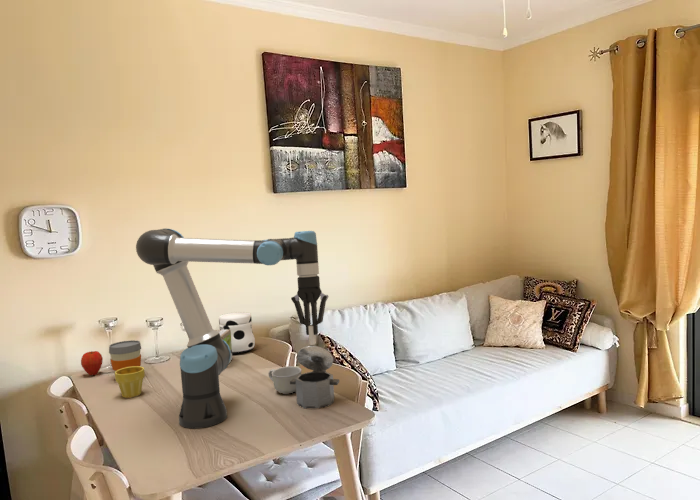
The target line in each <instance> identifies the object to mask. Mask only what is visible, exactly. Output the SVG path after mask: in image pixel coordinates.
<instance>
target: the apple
mask: <svg viewBox="0 0 700 500" xmlns="http://www.w3.org/2000/svg"><path fill="white" fill-rule="evenodd" d="M80 365H81V367H82V368H83V370H84V371H85V373H87V374H88V375H89V376H96V375H97V374H98V373H99V372H100V370H101V368H102V365H103V356H102V354H101V353H100V352H99V351H96V350H95V351H92V350H91V351H87V352H85V353H84V354H83V355H82V356H81V359H80Z"/></svg>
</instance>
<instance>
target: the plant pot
mask: <svg viewBox="0 0 700 500" xmlns="http://www.w3.org/2000/svg"><path fill="white" fill-rule="evenodd" d="M114 377H115V379H114V380H115V382H116V383H117V385H118V388H119V391H120V394H121V396H122V397H123V398H124V399H130V398H136V397H139V396H140V395H141V394H142V388H143V382H144V378H145V377H146V374H145V367H143V366H132V367H126V368H122V369H119V370H117V371H116V372H115V373H114Z"/></svg>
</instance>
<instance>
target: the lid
mask: <svg viewBox="0 0 700 500" xmlns="http://www.w3.org/2000/svg"><path fill="white" fill-rule="evenodd" d="M296 358H297V361H298V363H299V364H300V365H301V366H302V367H304V368H306V369H308V370H310V371H313V370H314V371H324V370H326V371H327V370H328V369H330V368H331V367H332V366H333V365H334V357H333V354H331V352H329V351H328V349H325V348H323V347H321V346H318V345H305V346H304V347H303V346H302V347H301V348H300V349H299V350H298V352H297V357H296Z"/></svg>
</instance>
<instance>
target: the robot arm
mask: <svg viewBox="0 0 700 500" xmlns="http://www.w3.org/2000/svg"><path fill="white" fill-rule="evenodd" d="M135 250H136V255H137V256H138V258H139V259H140V260H141V261H142V262H143V263H145V264H147V265H150V266H151V265H152V266H153V268H154V270H155V273H156V274H158V275H161V276H162V277H163V280H164V282H165V285H166V287H167V289H168V291H169V294H170V297H171V298H172V299H171V300H172V301H173V304H174V306H175V309H176V310H177V314H178V315H179V318H180V320H181V324H182V325H183V327H184V328H183V329H184V330H185V332H186V335H187V338H188V341H187V345H186V348H185V349H184V350H182V352H181V353H180V356H179V367H180V377H181V379H180V380H181V388H182V389H181V390H182V402H181V407H180V410H179V414H178V424H179V425H180V426H181V427H183V428H185V429H202V428H203V429H204V428H208V427H211V426H212V427H213V426H215V425H218V424H220V423H222V422H224V421H225V420H226V419H227V417H228V409H227V407H226V404H225V402H224V400H223V398H222V395H221V392H220V391H221V390H220V375H221V374H222V372H224V371H225V370H226V369H227V367H228V366H229V364H230V363H229V361H230V358H231V350H230V347H229V345H228V344H227V343H226V342H225V341H224V340H222V338H221V336H220V334H219V332H218V331H215V330H216V329H214V328H213V326H212V323H211V322H210V319H209V316H208V314H207V312H206V309H205V307H204V304H203V302H202V300H201V297H200V295H199V292H198V290H197V287H196V285H195V282H194V280H193V278H192V276H191V273H190V271H189V269H188V264H189V262H190V263H191V262H195V263H197V262H198V263H223V264H224V263H226V264H227V263H231V264H256V265H265V266H275V265H277V264H279V262H281V261H291V260H295V261H296V262H295V263H296V275H297V289H298V290H297V293H296V294H295V295H294V296H292V297H291V302H292V303H293V304H294V308H295V311H296V314H297V317H298V321H299V323H300V325H304V326H305V334H306V336H308V339H309V340H308V343H309V346H316V344H317V337H316V335H318V334H319V329H318V328H319V327H318V325H319V324H321V323H323V322H324V315H325V308H326V302H327V301H328V298H329V295H328V294H324V293H323V292H322V289H321V285H320V284H321V283H320V282H321V281H320V280H321V279H320V276H319V274H320V271H319V269H320V268H319V267H320V266H319V255H318V254H319V251H318V240H317V233H316V232H315V231H314V230H302V231H295V232H294V236H293V237H289V238H286V237H285V238H268V239H263V240H252V239H225V238H198V237H196V238H195V237H194V238H193V237H184V236H183V235H182V233H180V231H177V230H175V229H172V228H167V227H166V228H160V229H151V230H147V231H145V232H143V233H142V234H141V235H140V236H139V237H138V238H137V241H136V244H135ZM318 299H320V304H319V308H318V307H317V305H318ZM300 300H301V301H302V303H303V304H302V305H303V308H302V305H301V302H300ZM303 309H304V312H303ZM318 310H319V311H318Z"/></svg>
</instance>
